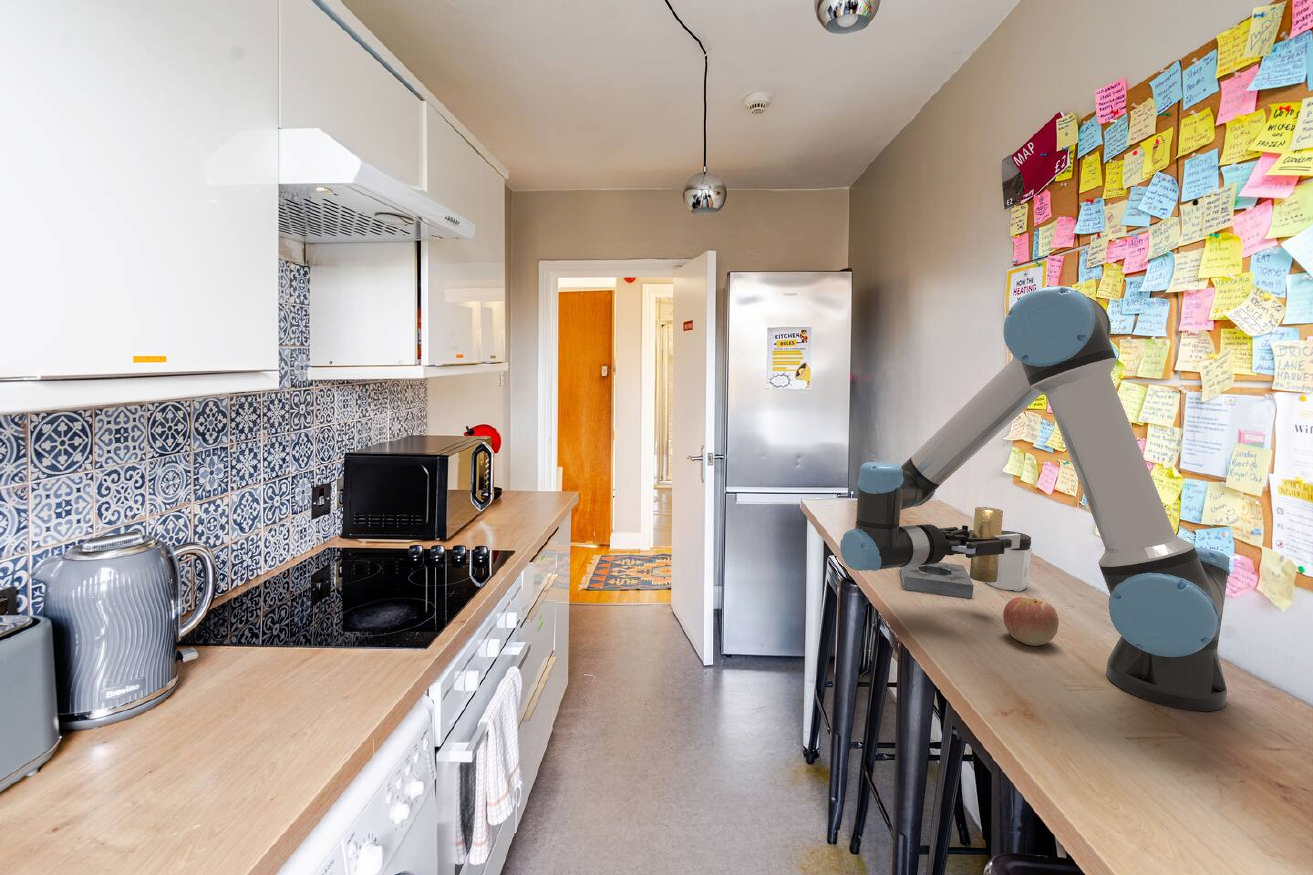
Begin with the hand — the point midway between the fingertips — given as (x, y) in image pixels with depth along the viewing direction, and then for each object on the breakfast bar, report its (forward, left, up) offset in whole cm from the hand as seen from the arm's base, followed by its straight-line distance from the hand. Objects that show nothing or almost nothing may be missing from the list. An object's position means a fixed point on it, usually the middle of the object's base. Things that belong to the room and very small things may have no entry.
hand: (1005, 537), depth 137 cm
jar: (+21, -5, -16) cm, 26 cm away
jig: (+15, +11, -15) cm, 24 cm away
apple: (-15, -2, -16) cm, 22 cm away
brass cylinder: (-3, +4, -8) cm, 10 cm away
